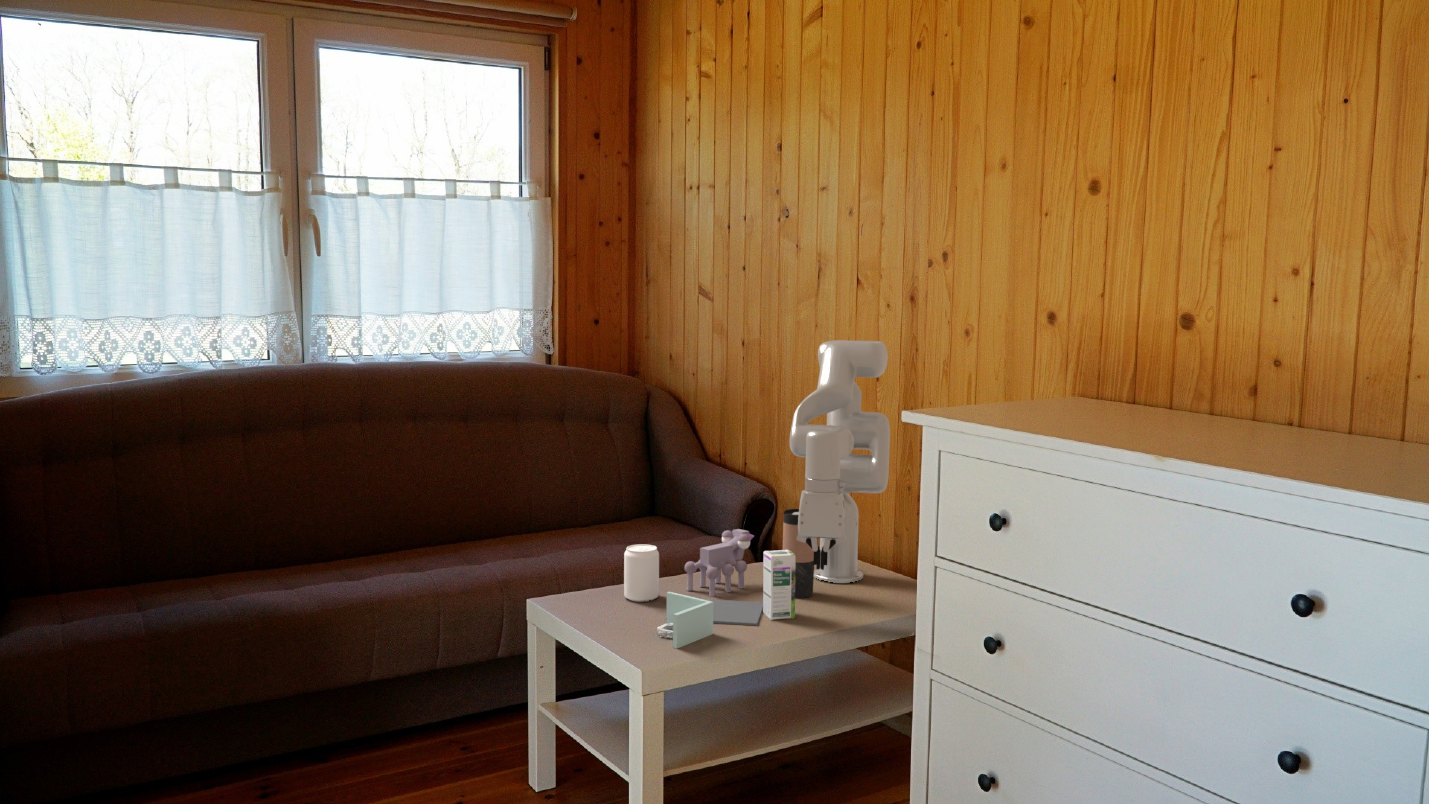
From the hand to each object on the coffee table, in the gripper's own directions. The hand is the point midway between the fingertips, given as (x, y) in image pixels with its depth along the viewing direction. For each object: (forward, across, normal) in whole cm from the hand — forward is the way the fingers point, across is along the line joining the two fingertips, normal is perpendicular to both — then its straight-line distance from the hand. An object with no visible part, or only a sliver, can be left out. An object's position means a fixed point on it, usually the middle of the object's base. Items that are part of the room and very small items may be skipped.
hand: (820, 568), depth 236 cm
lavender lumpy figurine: (+11, +24, -22) cm, 34 cm away
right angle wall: (+12, +30, +17) cm, 36 cm away
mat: (+11, +23, -1) cm, 26 cm away
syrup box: (+12, +9, -1) cm, 15 cm away
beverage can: (+12, +42, -9) cm, 44 cm away
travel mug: (+11, +6, -19) cm, 23 cm away
